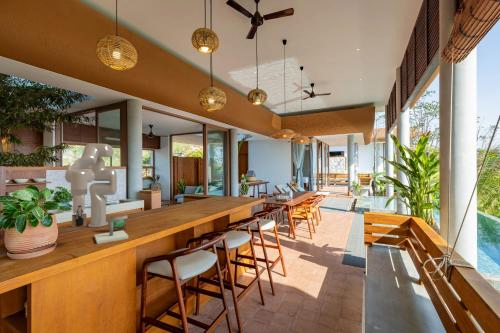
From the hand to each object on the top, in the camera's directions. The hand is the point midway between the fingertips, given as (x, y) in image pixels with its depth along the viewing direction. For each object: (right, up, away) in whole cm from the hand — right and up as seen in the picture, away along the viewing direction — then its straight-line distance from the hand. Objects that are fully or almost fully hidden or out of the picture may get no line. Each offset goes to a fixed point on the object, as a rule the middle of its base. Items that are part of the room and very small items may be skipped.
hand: (79, 223), depth 131 cm
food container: (+6, -12, +26) cm, 29 cm away
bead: (0, -1, 0) cm, 1 cm away
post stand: (+11, -11, +11) cm, 20 cm away
